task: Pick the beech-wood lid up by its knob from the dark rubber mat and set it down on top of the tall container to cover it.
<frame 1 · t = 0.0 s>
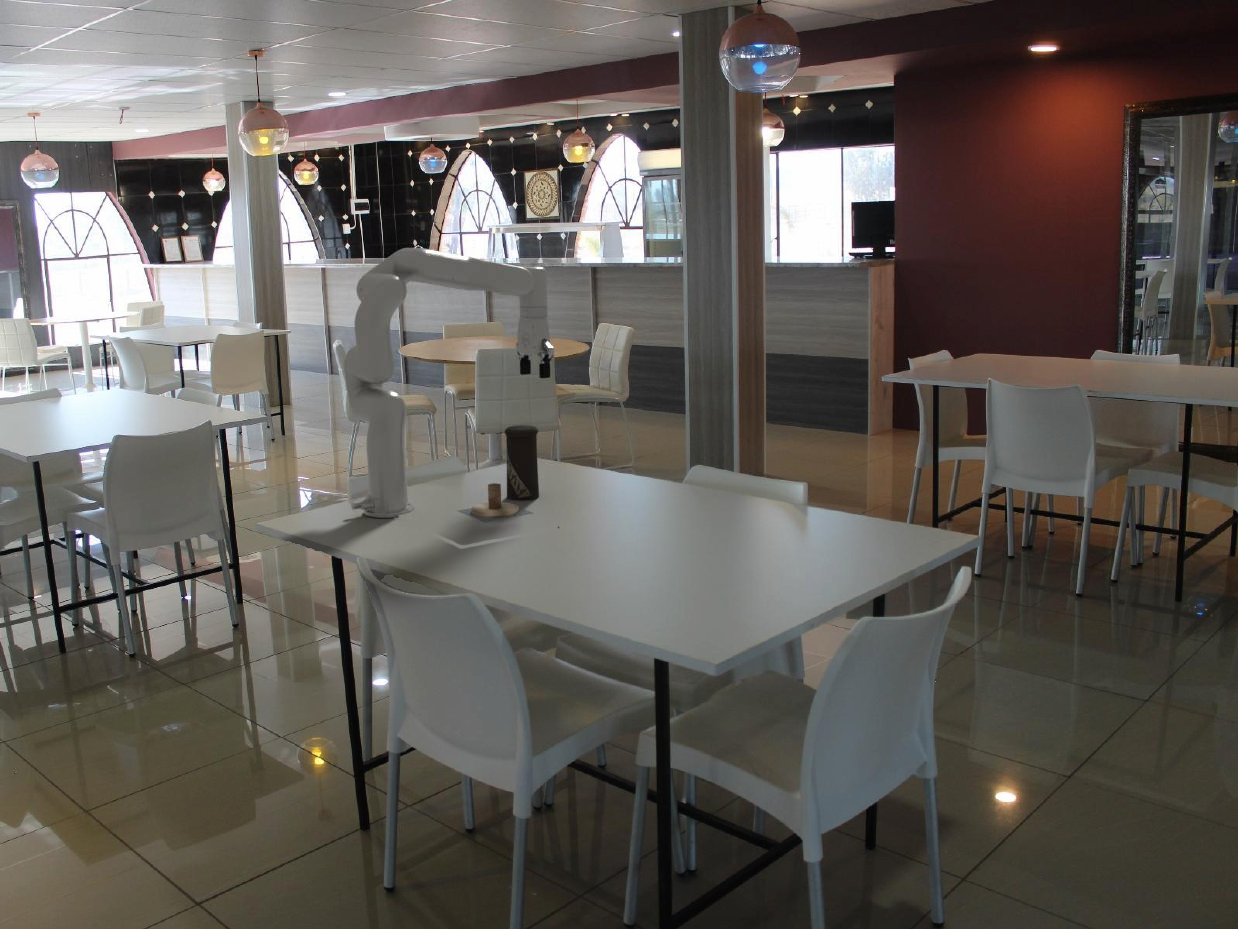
hand: (535, 376, 302), 31 cm above the table, fingers open, 9 cm apart
container: (523, 500, 294), on the table
mat: (495, 514, 279), on the table
lid: (495, 511, 279), point 1 cm above the table, touching mat
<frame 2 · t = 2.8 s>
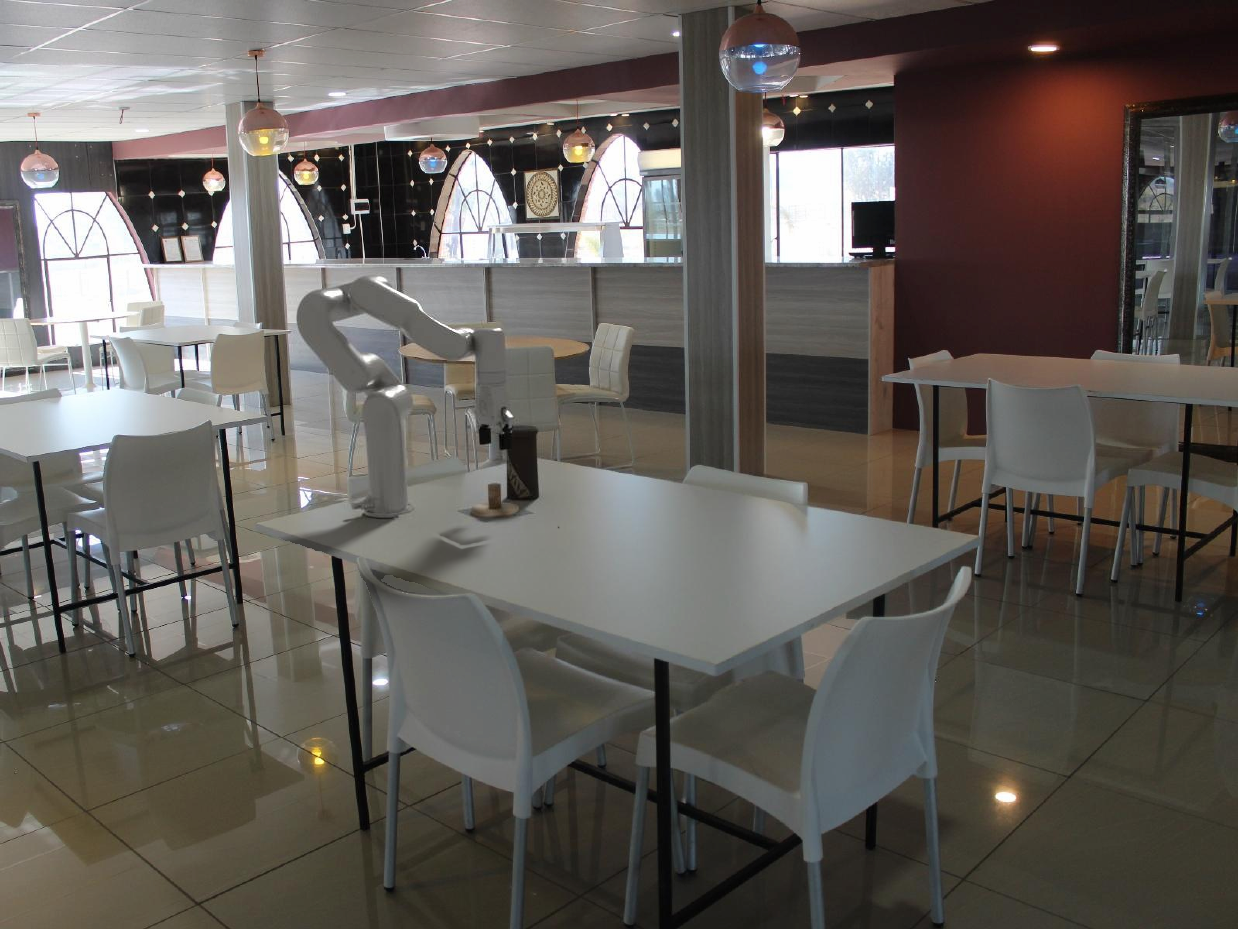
hand: (495, 446, 275), 18 cm above the table, fingers open, 9 cm apart
nothing on the table moved.
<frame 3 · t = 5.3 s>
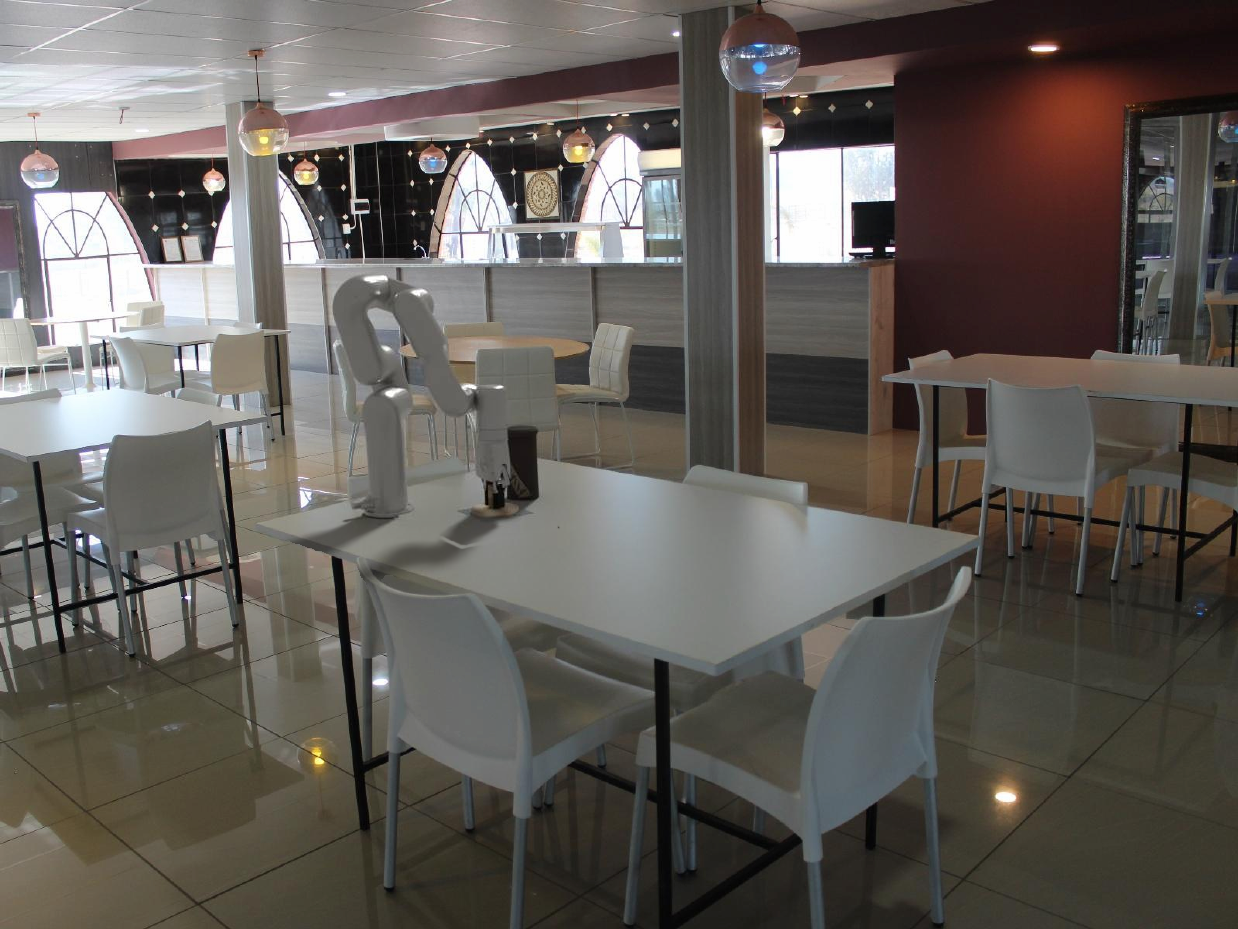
hand: (494, 505, 278), 2 cm above the table, fingers closed on lid, 3 cm apart
lid: (495, 511, 279), point 1 cm above the table, touching gripper, mat
everything else where it was.
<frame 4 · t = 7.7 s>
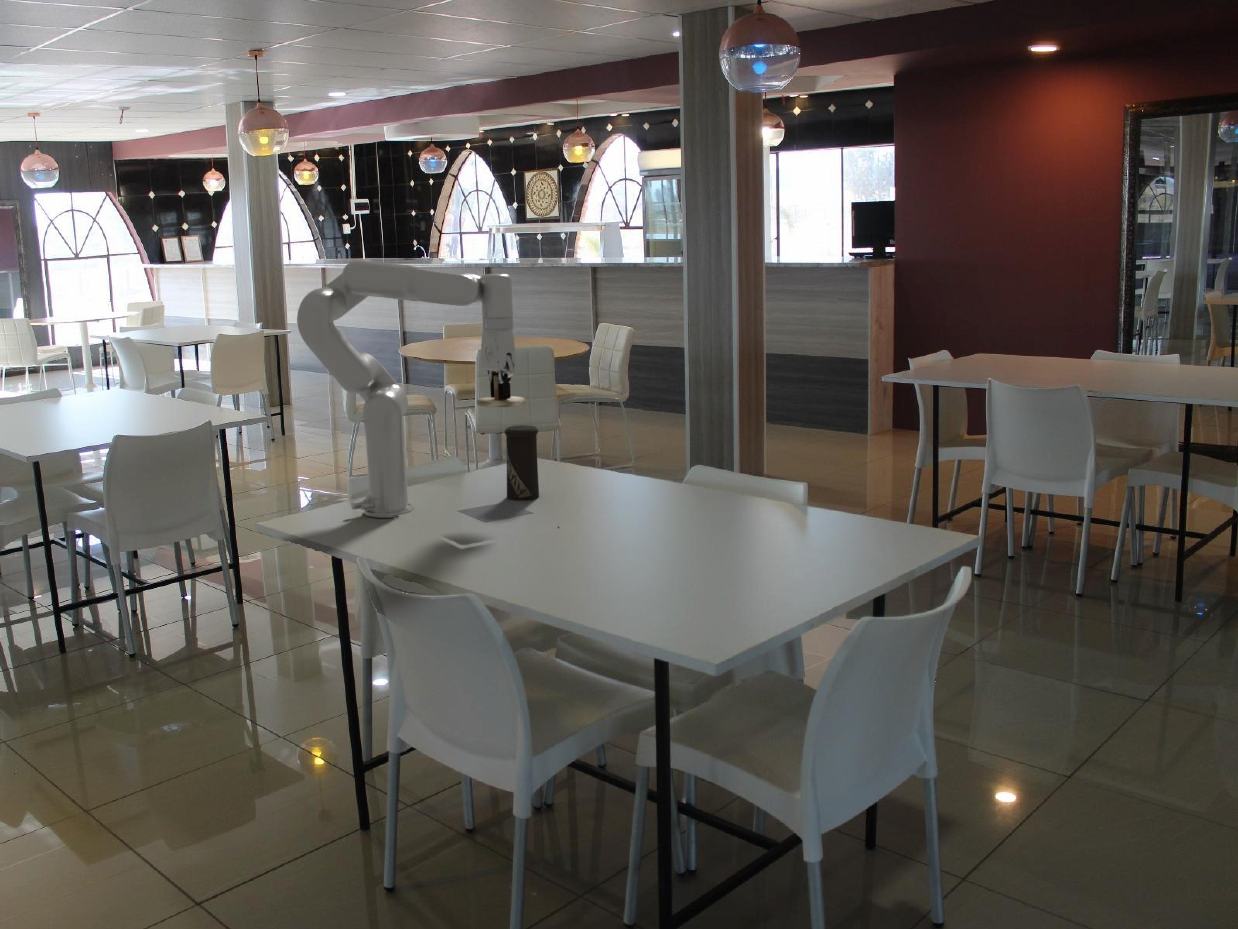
hand: (500, 397, 277), 29 cm above the table, fingers closed on lid, 3 cm apart
lid: (501, 403, 277), point 28 cm above the table, touching gripper
everything else where it was.
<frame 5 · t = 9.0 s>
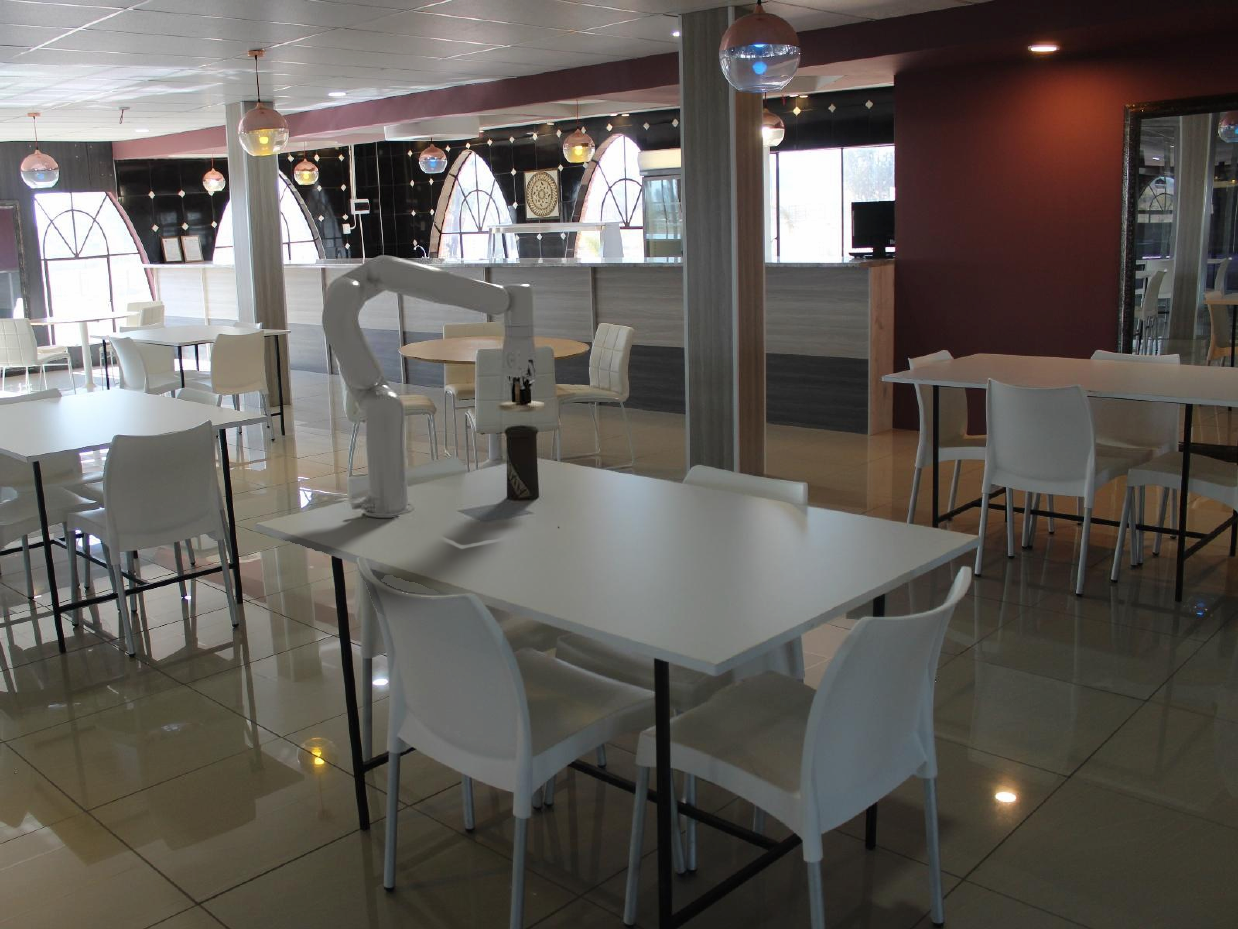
hand: (521, 402, 289), 26 cm above the table, fingers closed on lid, 3 cm apart
lid: (521, 408, 289), point 25 cm above the table, touching gripper
everything else where it was.
when the fingers open (23 cm above the table, at t = 10.1 s): lid drops 2 cm, resting on container.
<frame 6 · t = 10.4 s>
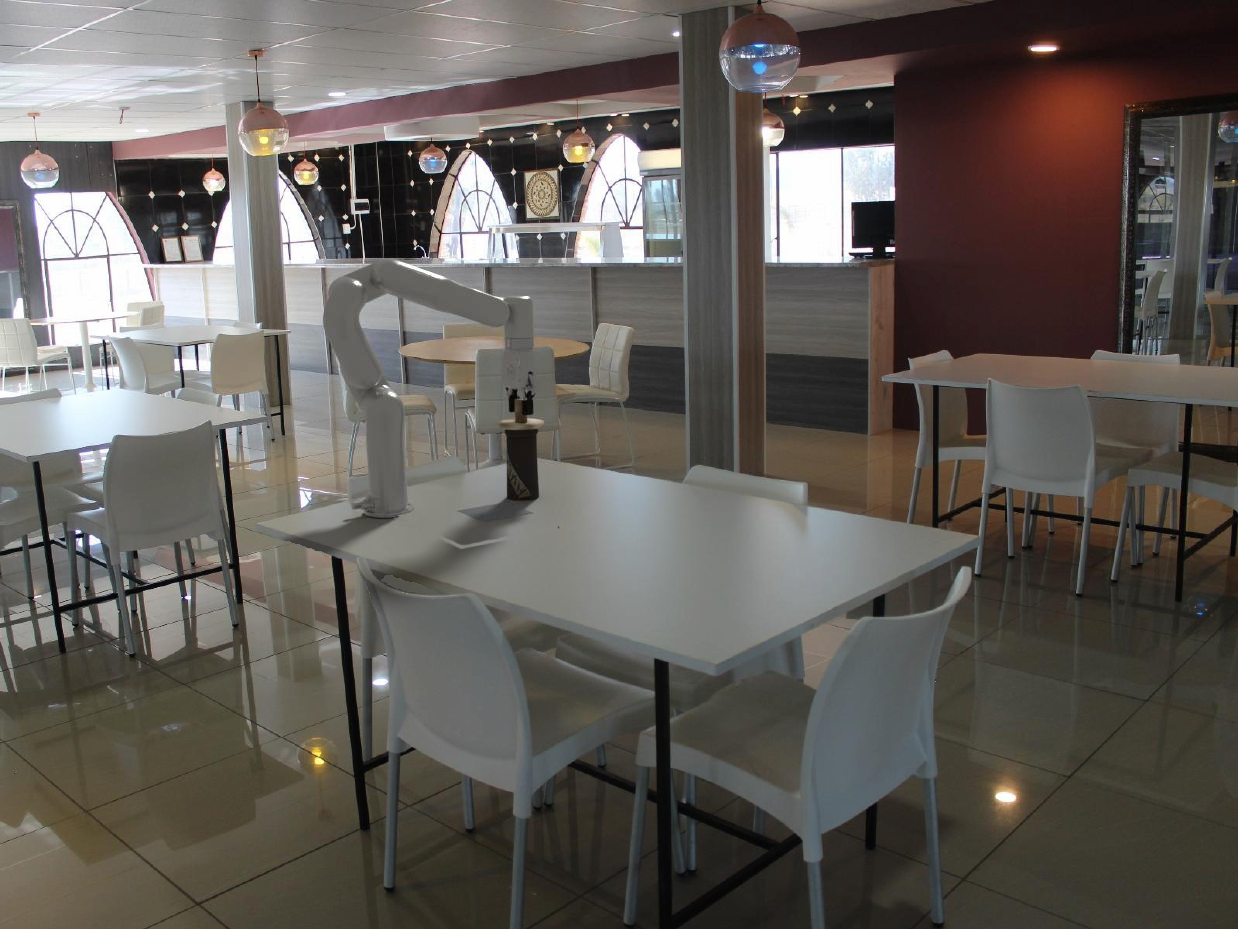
hand: (521, 412, 289), 24 cm above the table, fingers open, 5 cm apart
container: (523, 500, 294), on the table, touching lid
lid: (521, 425, 290), point 20 cm above the table, touching container
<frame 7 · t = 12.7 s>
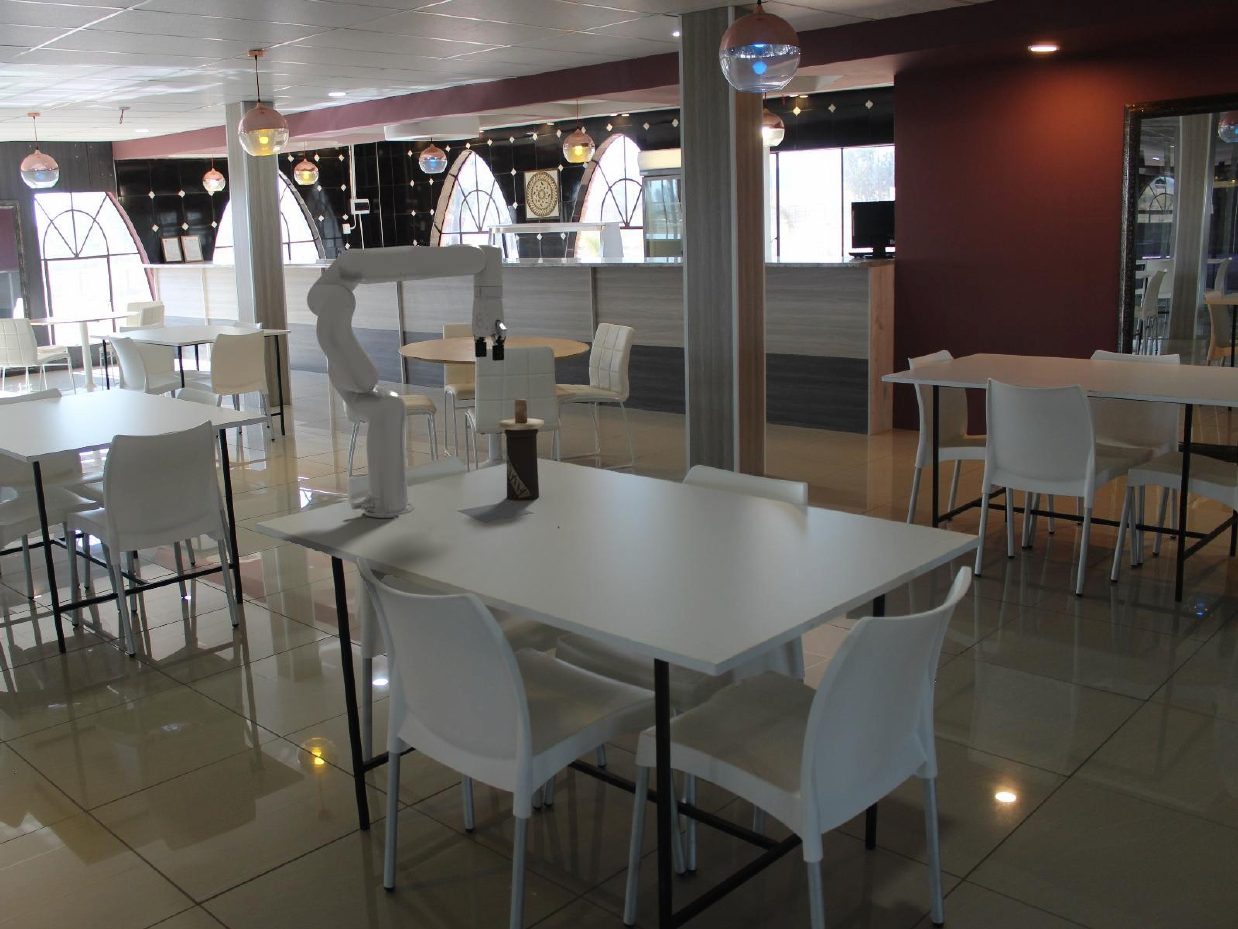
hand: (489, 358, 291), 37 cm above the table, fingers open, 9 cm apart
nothing on the table moved.
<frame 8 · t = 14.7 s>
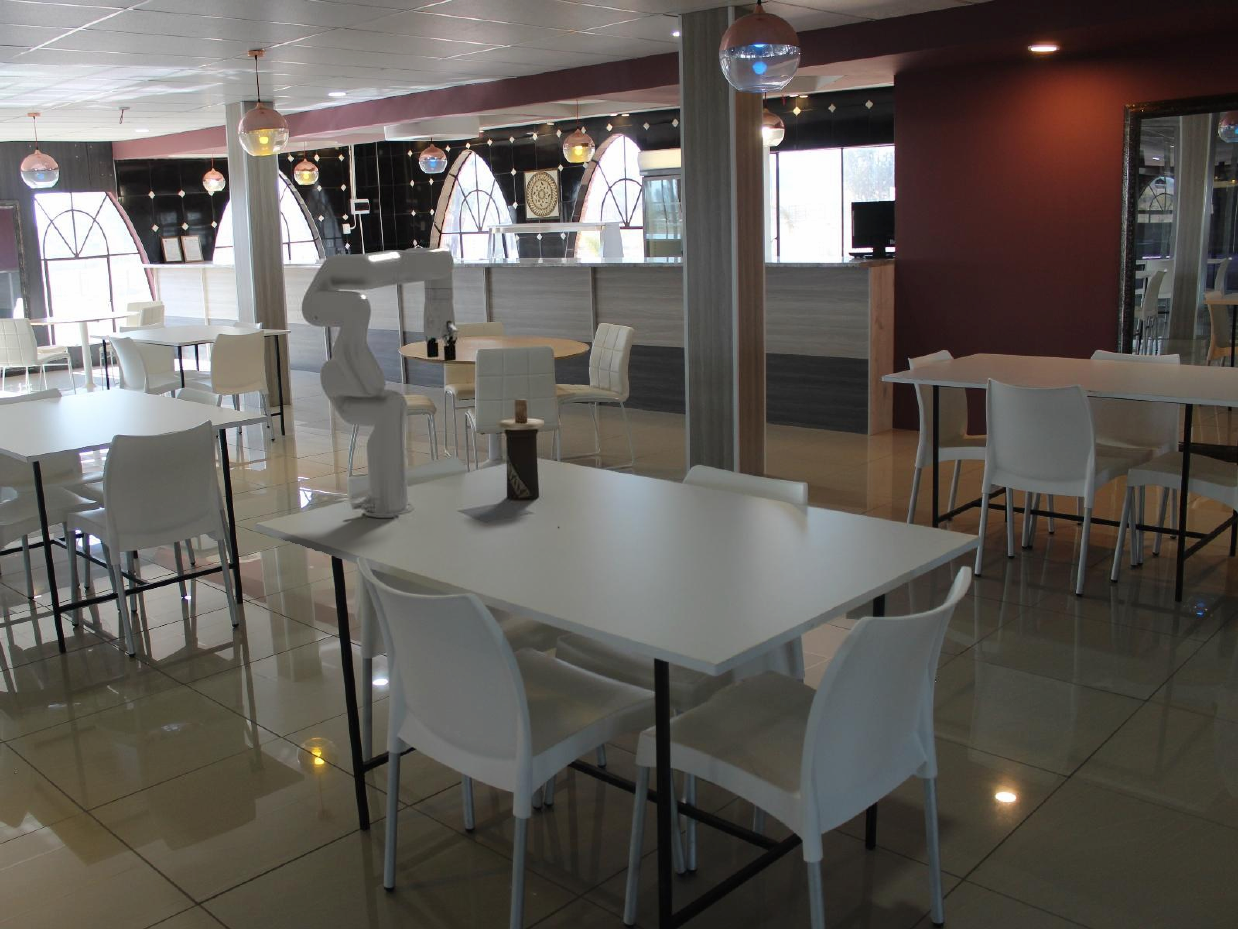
hand: (441, 358, 299), 36 cm above the table, fingers open, 9 cm apart
nothing on the table moved.
at the end: lid inside the target area on the container (0.0 cm from its centre), point 20.2 cm above the container's base; container tilted 0°; the gripper is holding nothing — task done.
